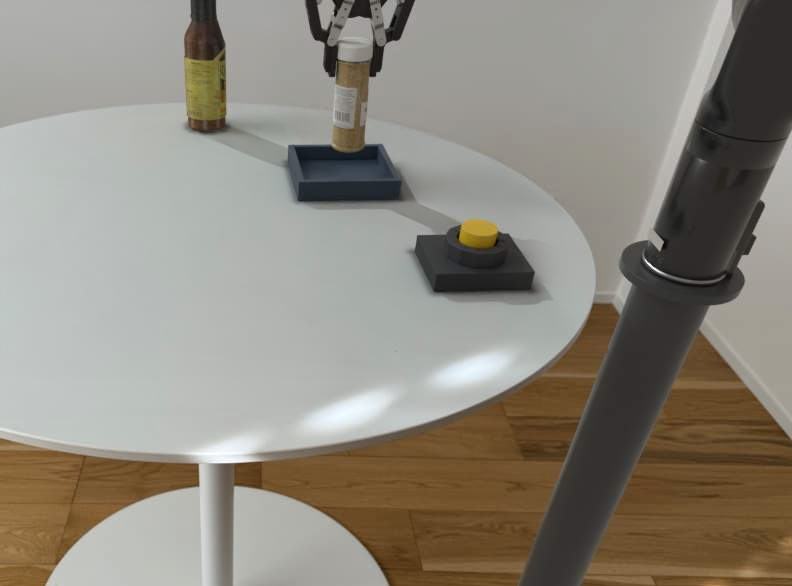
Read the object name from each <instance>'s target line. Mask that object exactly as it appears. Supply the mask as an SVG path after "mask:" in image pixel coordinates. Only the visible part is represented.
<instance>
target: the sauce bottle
mask: <svg viewBox="0 0 792 586" xmlns="http://www.w3.org/2000/svg"><path fill="white" fill-rule="evenodd" d="M217 14H218V13H217V0H190V14H189V16H190V19H191V20H190V23H189V25H188V26H187V28H186V30H185V33H184V37H183V44H184V56H183V62H184V63H183V64H184V85H185V104H186V105H185V106H186V117H187V124H188V126H189V127H190V128H191V129H192V130H195V131H199V132H213V131H215V132H216V131H218V130H220V129H223V128H224V127H225V125H226V124H227V123H226V122H227V119H226V117H227V53H226V52H227V51H226V50H227V48H226V42H225V41H226V40H225V38H224V35H223V33H222V29H221V26H220V23H219V19H218V15H217Z"/></svg>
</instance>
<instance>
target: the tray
mask: <svg viewBox="0 0 792 586" xmlns="http://www.w3.org/2000/svg"><path fill="white" fill-rule="evenodd" d="M331 144H332V143H330V144H326V143H325V144H288V145H287V160H286V161H287V166H288V169H289V173H290V177H291V181H292V184H293V188H294V191H295V195H296V199H297V201H299V202H300V201H350V200H351V201H352V200H353V201H355V200H357V201H358V200H361V201H363V200H399V199H400V195H401V189H402V182H403V180H402V178H401V177H400V175H399V172H398V171H397V169H396V167H395V165H394V163H393V161H392V159H391V157H390V155H389V154H388V151H387V150H386V148H385V146H384V144H383V143H365V147H364V148H363V149H362V150H360V151H358V152H351V153H345V152H340V151H337V150H335V149H334V148H333V147H332V145H331Z"/></svg>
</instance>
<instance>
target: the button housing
mask: <svg viewBox="0 0 792 586" xmlns="http://www.w3.org/2000/svg"><path fill="white" fill-rule="evenodd" d="M461 226H462V224H458V225H455V226H452V227H450V228H449V229H448V230H447V231H446V232H445V233H446V234H417V236H416V242H415V247H414V254H415V256H416V258H417V259H418V262H419V264H420V266H421V268H422V271H423V273H424V275H425V277H426V279H427V281H428V283H429V285H430V287H431V289H432V291H433V292H465V291H504V290H509V291H510V290H531V288H532V285H533V280H534V278H535V274H536V271H535V270H534V268H533V267H532V265H531V264H530V262H529V261H528V259H527V258H526V256H525V255H524V254H523V252H522V251H521V249H520V248H519V246H518V244H516V242H515V240H514V239H513V237H512V236H511V234H510V233H509V232H506V233H505V232H504V233H503V232H501V231H499V230H498V234H497V238H496V242H495V245H494V247H491V248H485V249H478V248H473V247H469V246H466V245H464V244H462V243H461V242H459V235H460V230H461Z"/></svg>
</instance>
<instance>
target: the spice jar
mask: <svg viewBox="0 0 792 586" xmlns="http://www.w3.org/2000/svg"><path fill="white" fill-rule="evenodd" d="M336 45H337V47H338V51H337V63H336V75H335V83H334V95H333V112H332V113H333V115H332V124H333V126H332V141H331V143H330V144H331V145H332V147H333V148H334V149H335V150H337V151H340V152H345V153H351V152H358V151H360V150H362V149H363V148H364V147H365V144H366V142H365V139H366V124H367V118H368V105H369V90H370V89H369V84H370V83H369V82H370V76H369V71H370V62H371V58H372V56H373V40H371V39H369V38H366V37H361V36H348V37H343V38H340V39H338V41H337V43H336Z"/></svg>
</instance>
